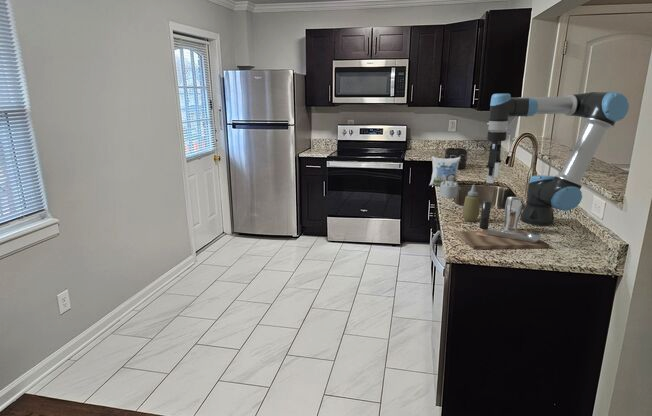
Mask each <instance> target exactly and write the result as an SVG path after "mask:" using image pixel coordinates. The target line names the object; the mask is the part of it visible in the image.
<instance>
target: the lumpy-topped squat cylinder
mask: <svg viewBox="0 0 652 416" xmlns="http://www.w3.org/2000/svg"><path fill="white" fill-rule="evenodd" d="M458 192H459V183H458V181H457V182H454V181H445V182H444V181H442V182H441V184H439V196H440V197H442V198H444V199H456V198H458Z"/></svg>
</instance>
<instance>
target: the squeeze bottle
mask: <svg viewBox="0 0 652 416" xmlns="http://www.w3.org/2000/svg"><path fill="white" fill-rule="evenodd" d="M480 199H481V198H480V197H479V192H478V191H477V188H476V184H472V186H471V189H470V190H469V191H468V192H467V195H466V196H465V199H464V203H463V207H462V217H463V220H464V221H466V222H472V223H473V222H477V220H478V218H479V215H480V202H481V201H480Z"/></svg>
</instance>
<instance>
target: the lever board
mask: <svg viewBox="0 0 652 416" xmlns="http://www.w3.org/2000/svg"><path fill="white" fill-rule="evenodd" d="M510 232H516V233H522V234H527V233H529V231H527V230H524V229H523V230H522V229H521V230H519V229H518V230H513V231H510ZM456 236H458V237H459V238H460V239H461V240H462V241H464V243H466V244H467V245H468V246H469V247H470V248H472V249H473V250H508V249H509V250H513V249H514V250H517V249H518V248H520V249H549V248H550V244H549V243H547V242H546V241H544V240H542V239H541V238H540V242H539V243H531V242H528V241H523V240H517V239H512V238H506V237H500V236H495V235H489V234H483V229H478V230H461V231H460V230H459V231H458V230H457V231H456Z"/></svg>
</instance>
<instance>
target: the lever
mask: <svg viewBox="0 0 652 416" xmlns="http://www.w3.org/2000/svg"><path fill="white" fill-rule="evenodd" d="M481 203H482V204H481V210H480V219H479V220H480V221H479V225H478V226H479V230H483V234H489V235H495V236H500V237H506V238H512V239H517V240H523V241H528V242H531V243H539V242H540V239H541V236H542V235H541V234H540V233H537V232H532V231H531V232H529V231H528V232H529V233H527V234H522V233H516V232H510V231H506V230H504V229H503V230H502V229H497V228H491V227H489V224H490V215H491V207H492V201H489V200H482V202H481Z"/></svg>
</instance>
